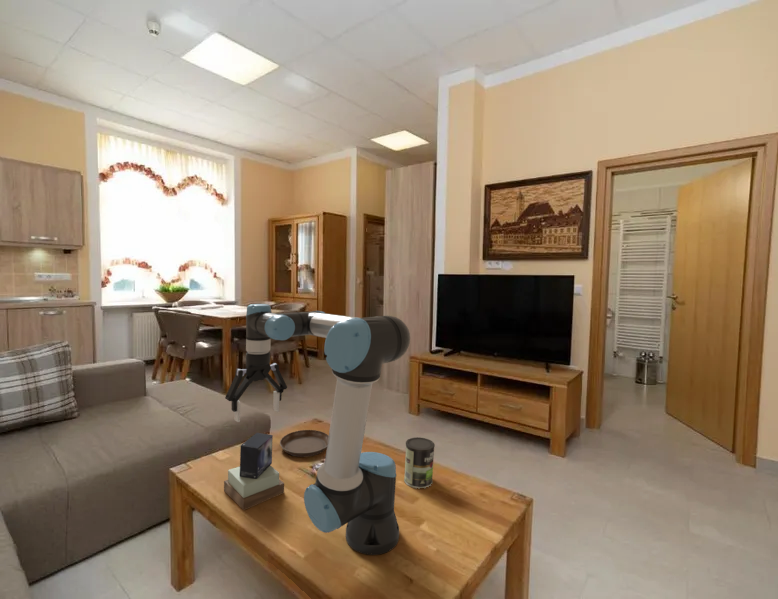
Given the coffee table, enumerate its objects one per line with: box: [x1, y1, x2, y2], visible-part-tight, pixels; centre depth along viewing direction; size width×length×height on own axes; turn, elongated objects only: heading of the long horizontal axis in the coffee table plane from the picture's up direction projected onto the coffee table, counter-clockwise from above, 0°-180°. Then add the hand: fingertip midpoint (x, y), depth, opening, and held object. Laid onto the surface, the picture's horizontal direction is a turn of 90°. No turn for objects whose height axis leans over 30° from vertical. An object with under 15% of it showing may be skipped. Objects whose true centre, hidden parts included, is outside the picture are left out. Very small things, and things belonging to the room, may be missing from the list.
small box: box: [239, 432, 274, 479], centre depth 129 cm, size 11×6×10 cm, turn 170°
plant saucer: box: [279, 429, 329, 458], centre depth 162 cm, size 21×21×3 cm
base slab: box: [223, 478, 285, 511], centre depth 129 cm, size 14×14×4 cm
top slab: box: [227, 464, 280, 498], centre depth 128 cm, size 12×12×4 cm
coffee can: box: [403, 437, 436, 490], centre depth 140 cm, size 10×10×14 cm
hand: (257, 415), depth 128 cm, fingers open, 13 cm apart
